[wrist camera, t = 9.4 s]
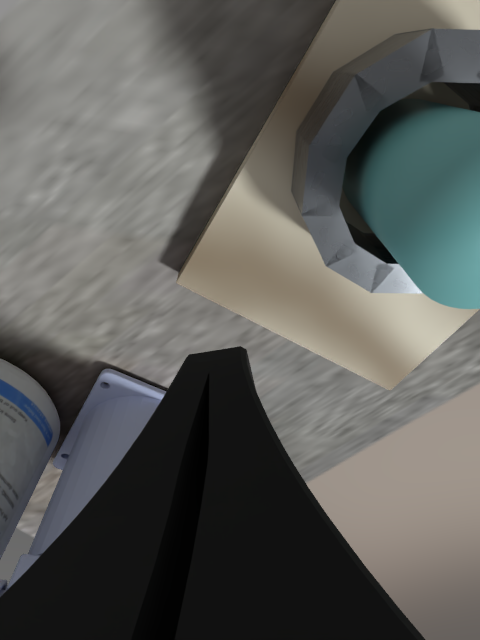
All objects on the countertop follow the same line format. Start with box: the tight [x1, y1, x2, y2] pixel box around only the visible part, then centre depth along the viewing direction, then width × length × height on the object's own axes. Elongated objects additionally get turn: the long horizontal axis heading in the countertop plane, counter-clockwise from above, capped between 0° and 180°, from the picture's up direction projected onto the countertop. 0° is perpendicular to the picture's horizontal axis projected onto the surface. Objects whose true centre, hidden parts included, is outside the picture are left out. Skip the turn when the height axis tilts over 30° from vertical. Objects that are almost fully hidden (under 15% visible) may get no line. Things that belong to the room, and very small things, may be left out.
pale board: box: [176, 0, 480, 390], centre depth 16 cm, size 16×13×1 cm
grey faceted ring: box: [291, 28, 480, 294], centre depth 14 cm, size 8×8×3 cm
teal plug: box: [342, 99, 480, 309], centre depth 12 cm, size 4×4×7 cm
